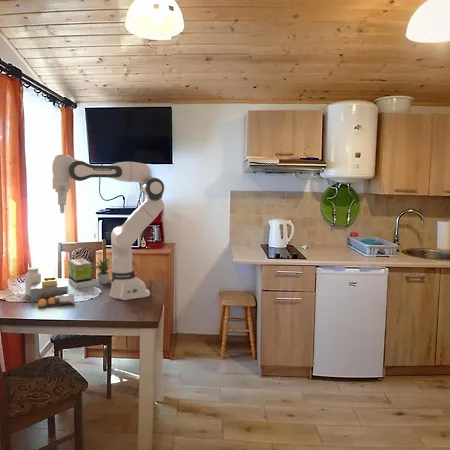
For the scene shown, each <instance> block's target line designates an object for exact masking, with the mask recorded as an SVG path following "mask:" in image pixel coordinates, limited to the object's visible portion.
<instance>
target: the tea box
mask: <svg viewBox="0 0 450 450" xmlns="http://www.w3.org/2000/svg"><path fill="white" fill-rule="evenodd" d="M92 265H93V264H92V262H90V261H89V260H87V259H85V258H77V259H69V260H67V271H68V272H67V274H68V275H67V276H68V283H69V284H70V285H71V286H73V287H74V288H75V289H76V290H77V289H82V288H88V287H92V286H93V266H92Z"/></svg>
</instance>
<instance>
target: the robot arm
mask: <svg viewBox="0 0 450 450" xmlns="http://www.w3.org/2000/svg"><path fill="white" fill-rule="evenodd" d="M51 163H52V167H51V168H52V170H51V171H52V172H51V173H52V174H53V175H52V176H53V177H52V189H53V190H55V193H57V203H58V205H59V210H60V211H59V212H60V214H65V206H66V204H67V195H68V193H69V190H71V189H72V181H71V180H72V179H73V180H75V181H78V182H83V181H85V180H88V179H91V178H107V179H108V178H109V179H113V180H115V181H118V182H124V183H126V182H127V183H139V184H138V185H139V188H140V190H141V192H142V193H143V194H144V195H145V196H146V198H145V200H144V202H142V203H141V204H140V205H139V206H138V207H137V208H136V209H135V210H134V211H132V213H131V214H130V215H129V216H128V218H127V219H126V221H125V222H124V223H123V224H122V225H118V226H116V227H114V228H113V230H112V231H111V235H110V241H111V243H110V244H111V245H110V246H111V258H112V259H111V261H112V262H111V265H112V266H111V268H112V270H111V274H110V276H111V277H110V280H111V287H110V292H109V297H110V298H112V299H116V300H118V299H119V300H123V301H127V300H134V299H141V298H147V297H150V296H151V292H150V290H149V289H148V288H147V287H146V286H147V285H146V284H145V282H144V281H143V280H141V279H140V278H139V277H137V276H138V271H135V270H134V269H133V251H132V250H133V249H132V246H133V244H135V242H136V241H137V239H138V238H139V237H140V236H141V234H142V233H143V232H144V230H146V229H147V227H148V226H150V224H151V223H152V222H153V221H154V220H155V219H157V217H158V216H159V214H160V213H161V212H162V211H163V209H164V207H165V204H164V201H163V199H162V198H163V195H164V192H165V184H164V182H163V181H162V180H161V179H160V178H157V177H155V176H154V177H153V176H152V175H151V169H150V167H149V165H147V164H146V163H144V162H143V163H142V162H135V161H121V162H115V163H112V164H108V165H107V164H106V165H102V164H101V165H99V164H91V163H90V164H89V163H88V162H85V161H83V160H79V159H76V158H74V157H72V156H71V155H70V154H67V153H66V154H57V155H54V157H53V158H52V162H51Z"/></svg>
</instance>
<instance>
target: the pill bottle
mask: <svg viewBox="0 0 450 450" xmlns="http://www.w3.org/2000/svg"><path fill="white" fill-rule="evenodd" d="M24 280H25V282H24V284H25V285H24V286H25V287H24V288H25V290H24V291H25V296H30V297H31V290H30V289H31V286H32V283H36V282H42V274H41V273H40V272H39V267H37V266H32V267H28V268H27V272H26V273H25V276H24Z"/></svg>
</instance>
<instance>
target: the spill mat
mask: <svg viewBox="0 0 450 450" xmlns="http://www.w3.org/2000/svg"><path fill="white" fill-rule="evenodd" d="M65 307H66V308H69V307H75V303H74V304H64V305H59V301H56V303H55V304H54V305H49V304H48V302H47V304H46V306H44V307H40V306H39V305H38V307H37V309H38V310H43V309H45V310H46V309H54V308H65Z"/></svg>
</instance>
